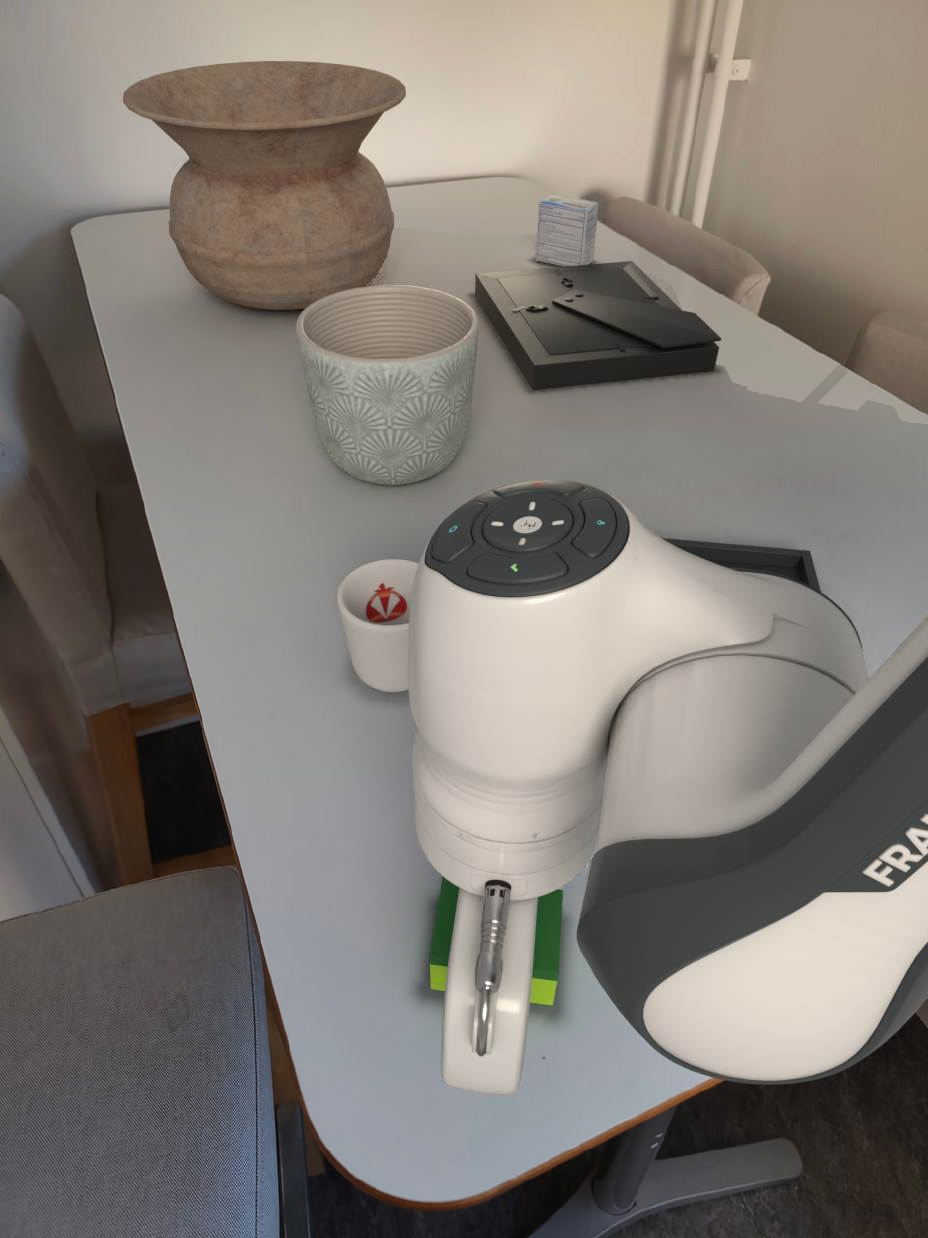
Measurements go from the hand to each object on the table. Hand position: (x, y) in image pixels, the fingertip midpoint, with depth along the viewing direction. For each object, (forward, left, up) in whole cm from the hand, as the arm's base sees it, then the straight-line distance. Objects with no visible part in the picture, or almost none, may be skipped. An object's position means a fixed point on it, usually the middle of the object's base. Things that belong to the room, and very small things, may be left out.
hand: (497, 941), depth 50 cm
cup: (+9, -23, -2) cm, 25 cm away
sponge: (0, 0, -2) cm, 2 cm away
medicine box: (+1, -111, -2) cm, 111 cm away
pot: (+39, -94, -2) cm, 101 cm away
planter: (+16, -52, -2) cm, 54 cm away
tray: (-12, -32, -2) cm, 34 cm away
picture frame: (-3, -87, -2) cm, 87 cm away
